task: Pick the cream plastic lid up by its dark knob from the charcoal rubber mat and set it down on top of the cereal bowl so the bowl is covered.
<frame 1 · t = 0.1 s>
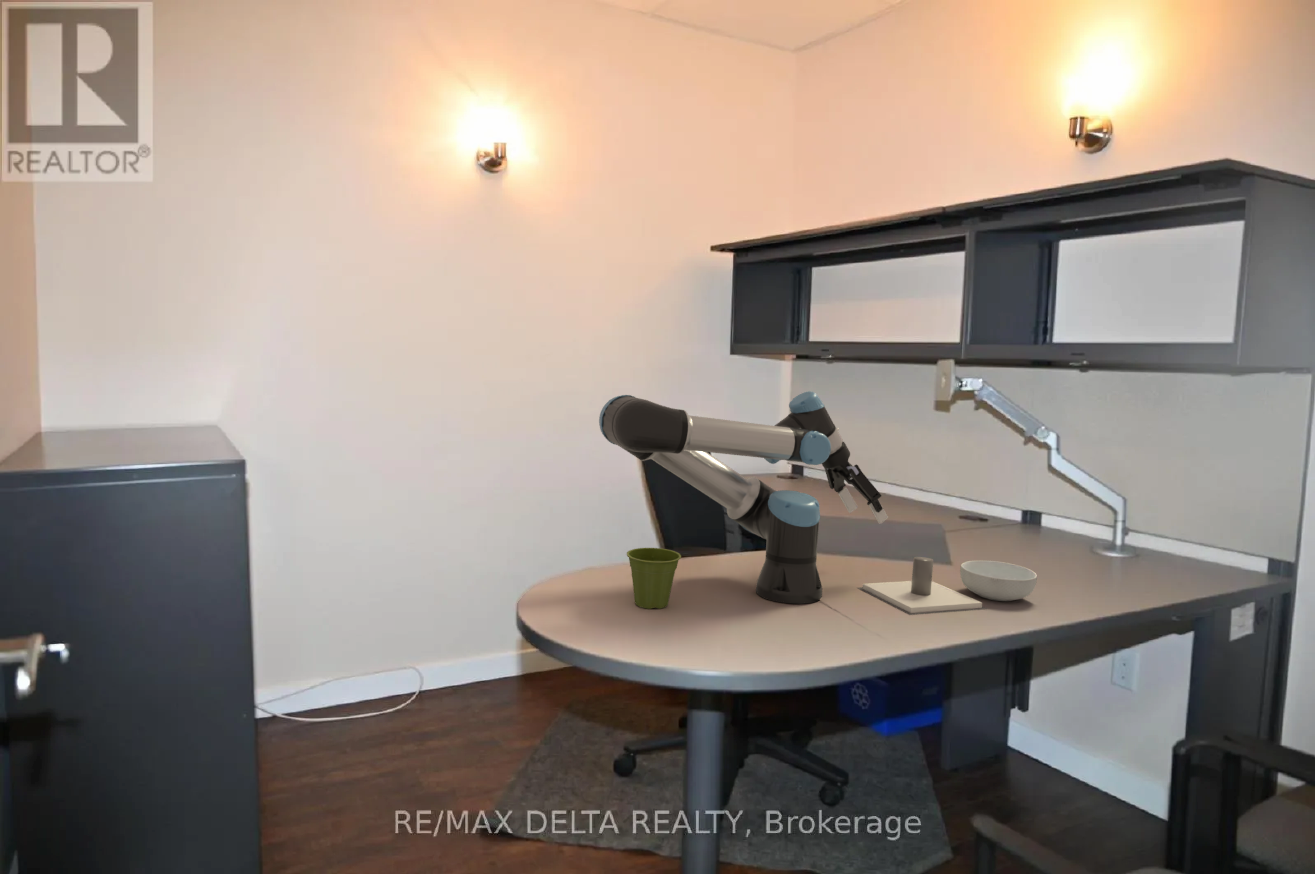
hand: (868, 515, 220), 15 cm above the table, fingers open, 13 cm apart
cereal bowl: (995, 598, 205), on the table
plant pot: (651, 605, 187), on the table
lid: (920, 597, 200), resting on mat
mat: (920, 599, 200), on the table
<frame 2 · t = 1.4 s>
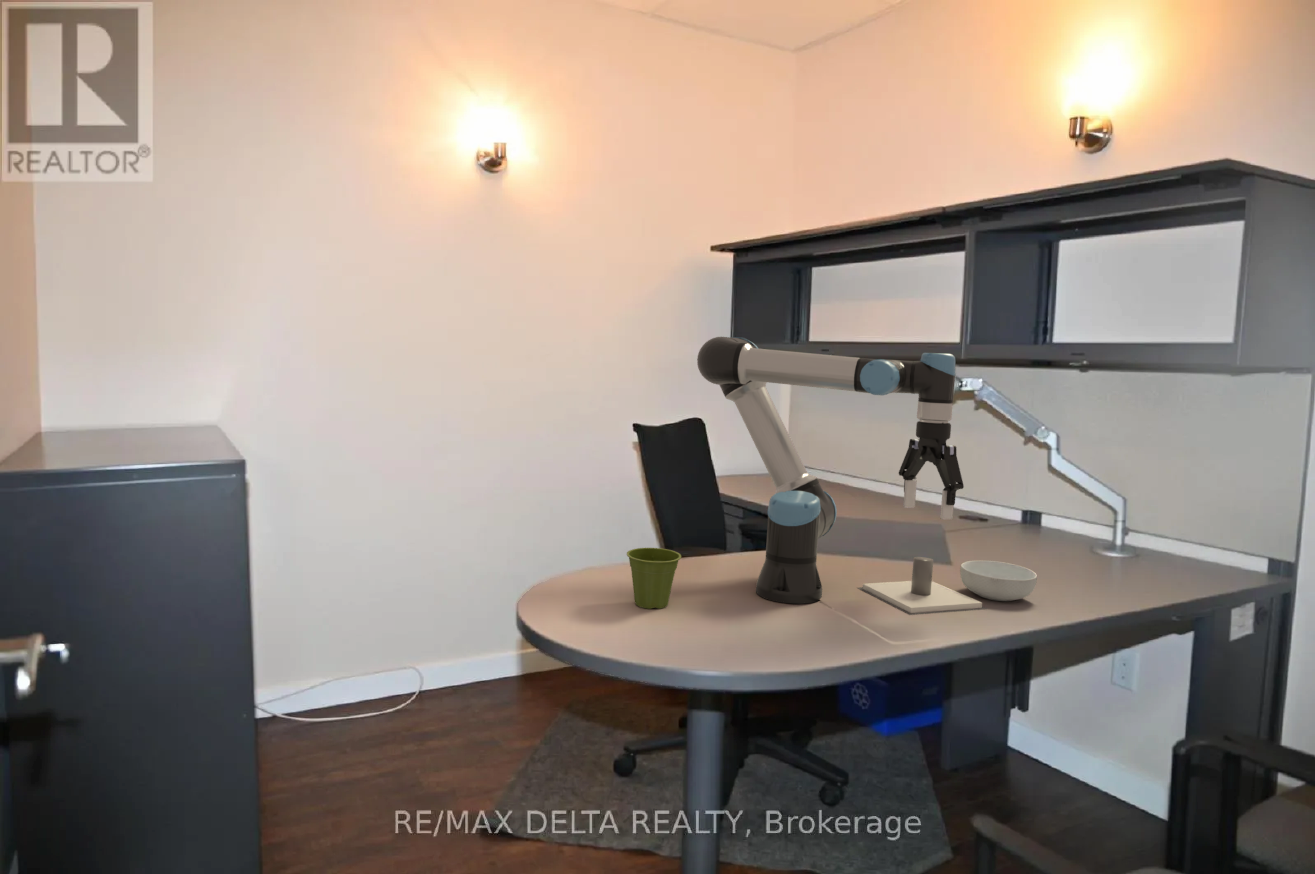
hand: (927, 513, 198), 20 cm above the table, fingers open, 13 cm apart
nothing on the table moved.
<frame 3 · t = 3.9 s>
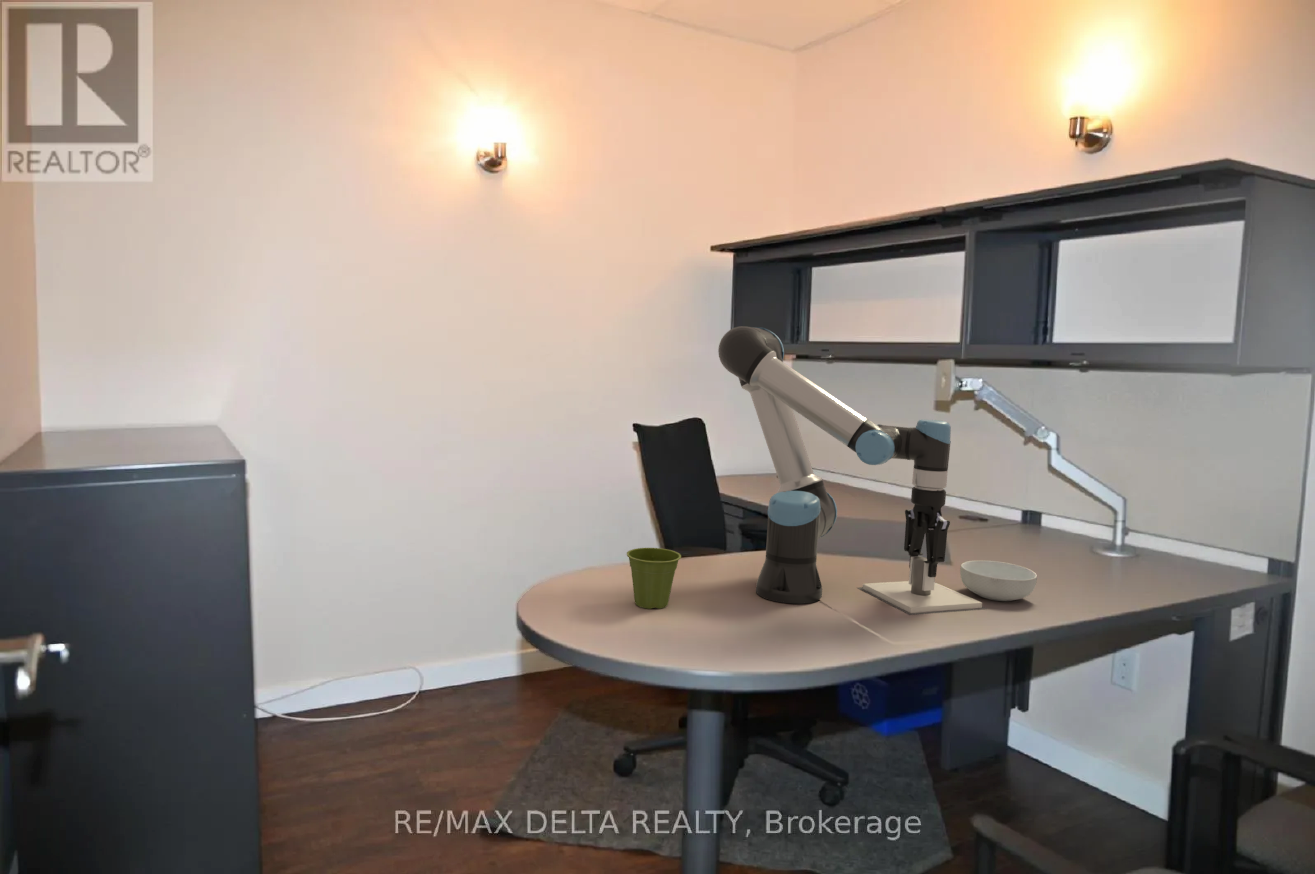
hand: (921, 586, 199), 3 cm above the table, fingers closed on lid, 4 cm apart
lid: (920, 597, 200), resting on mat, touching gripper
everything else where it was.
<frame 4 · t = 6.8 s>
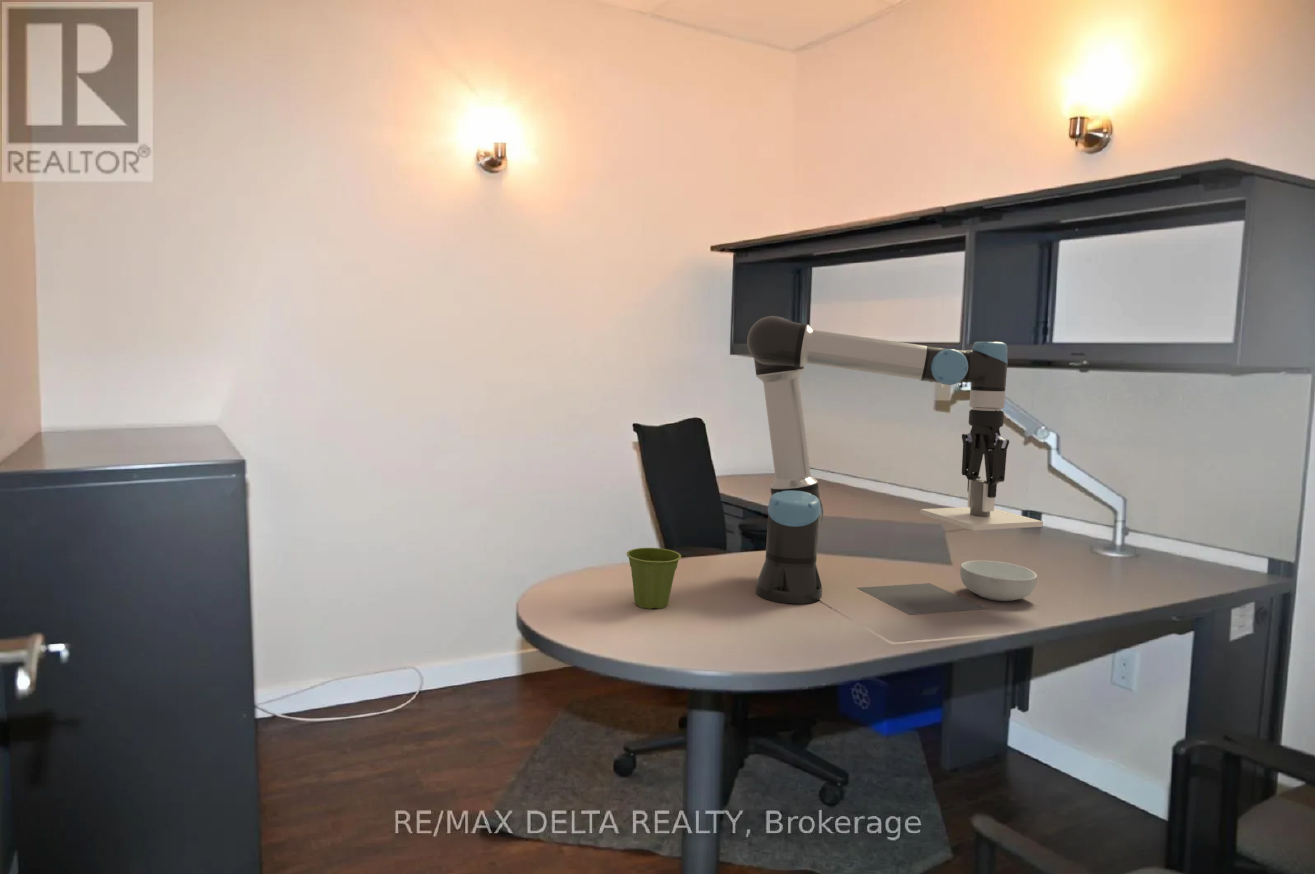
hand: (980, 508, 200), 22 cm above the table, fingers closed on lid, 4 cm apart
lid: (979, 520, 201), point 19 cm above the table, touching gripper
everything else where it was.
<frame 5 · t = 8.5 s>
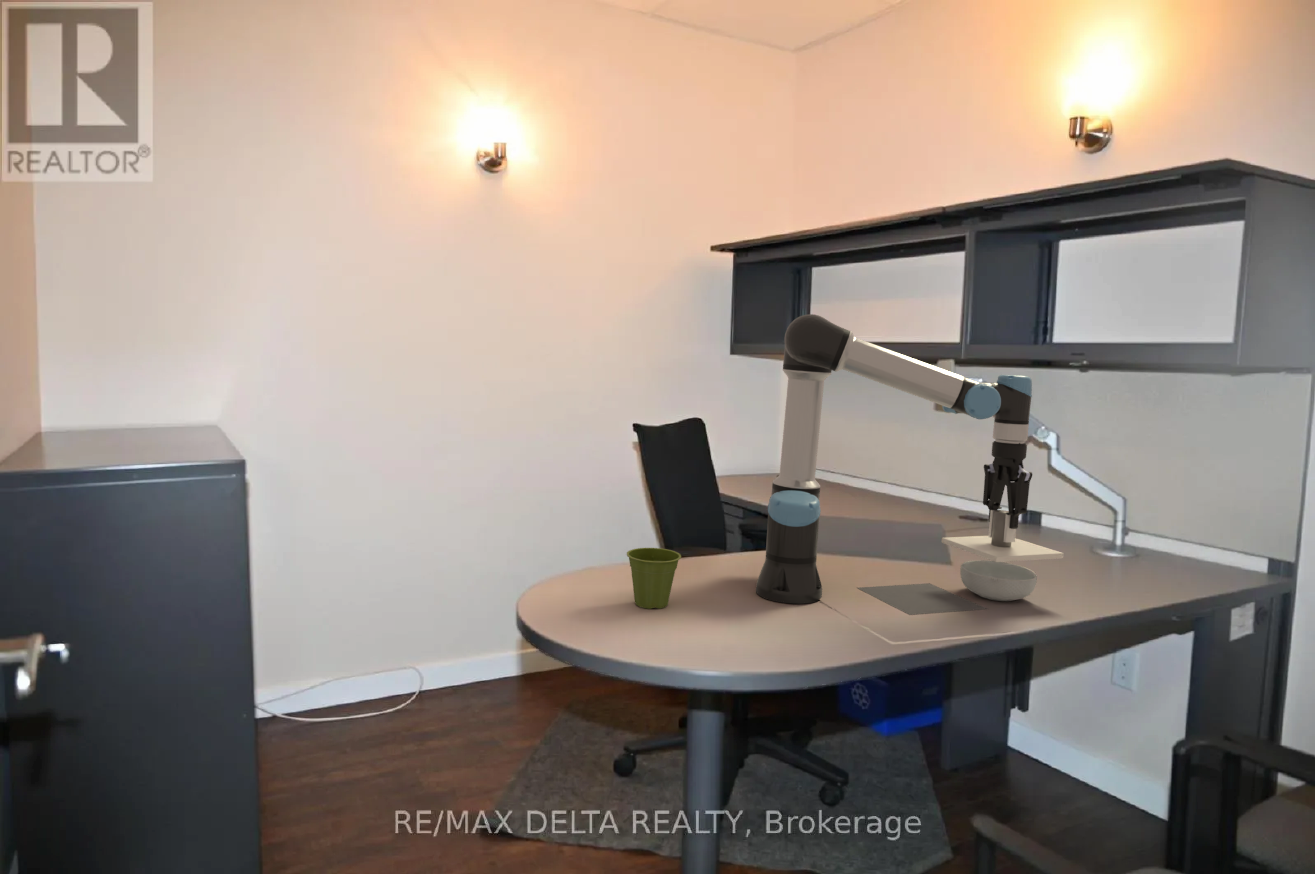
hand: (1001, 539, 203), 14 cm above the table, fingers closed on lid, 4 cm apart
lid: (1000, 550, 203), point 12 cm above the table, touching gripper
everything else where it was.
when the fingers open (11 cm above the table, at t = 9.7 s): lid drops 2 cm, resting on cereal bowl.
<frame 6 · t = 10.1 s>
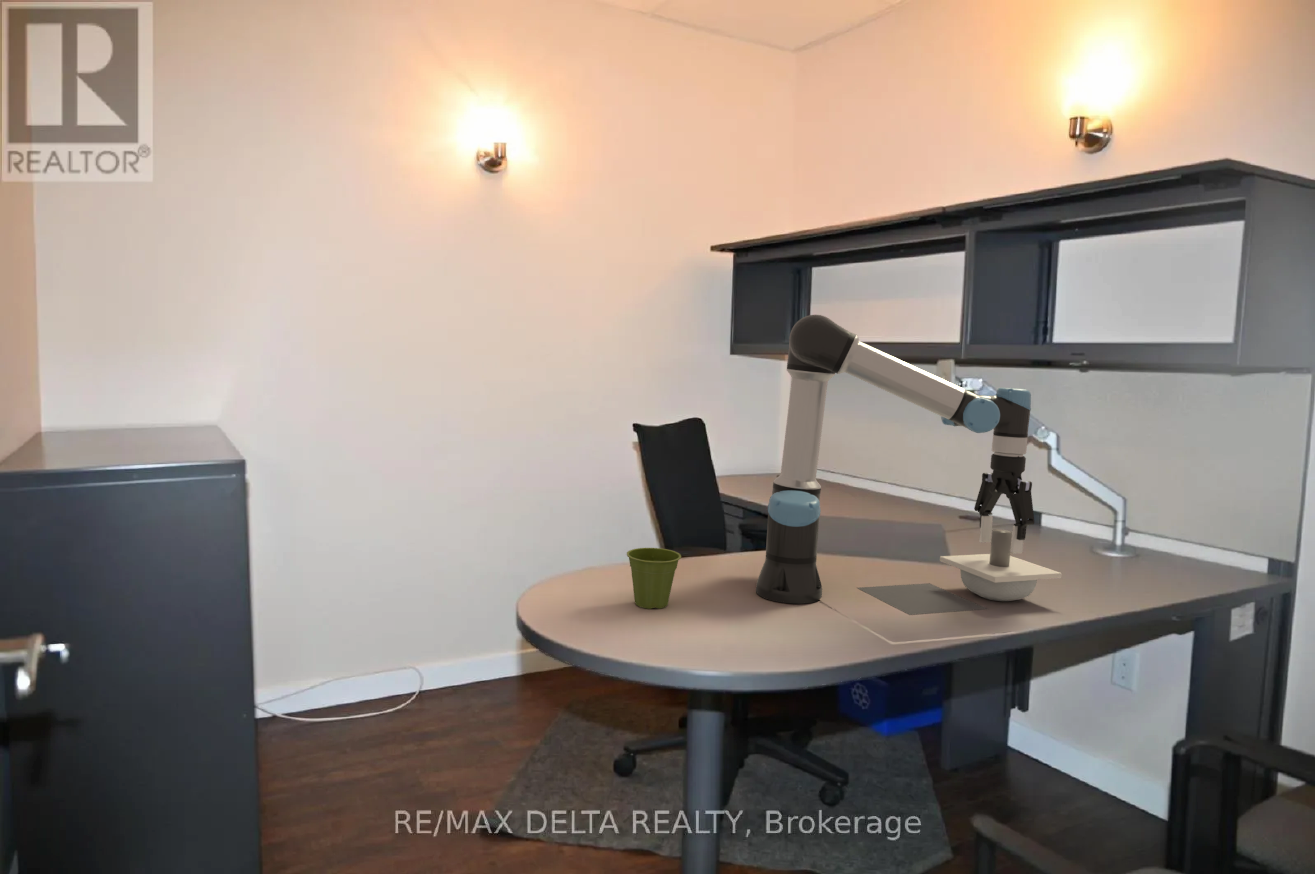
hand: (1000, 547, 203), 12 cm above the table, fingers open, 10 cm apart
cereal bowl: (995, 598, 205), on the table, touching lid
lid: (998, 569, 204), point 7 cm above the table, touching cereal bowl
everything else where it was.
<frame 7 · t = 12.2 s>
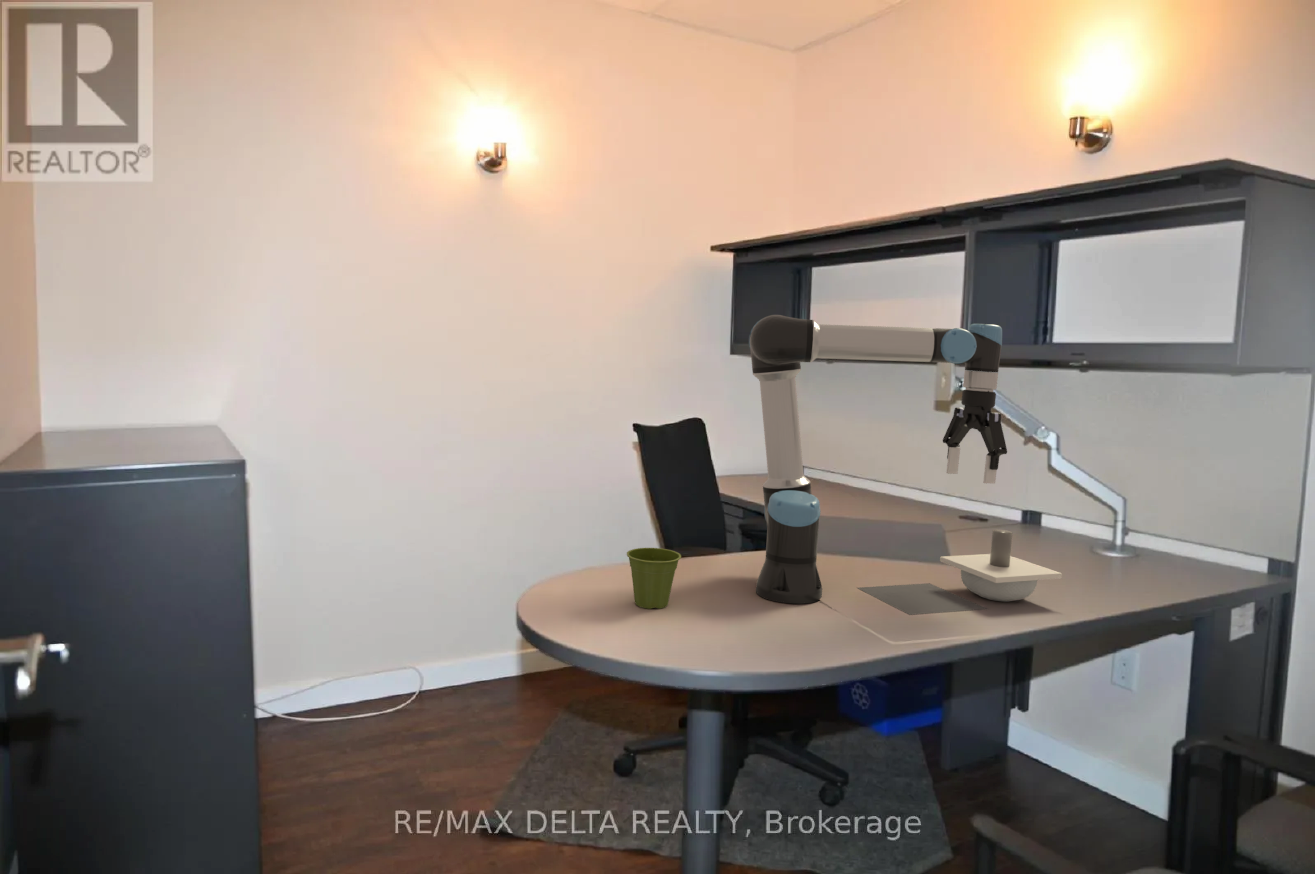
hand: (969, 478, 206), 28 cm above the table, fingers open, 13 cm apart
nothing on the table moved.
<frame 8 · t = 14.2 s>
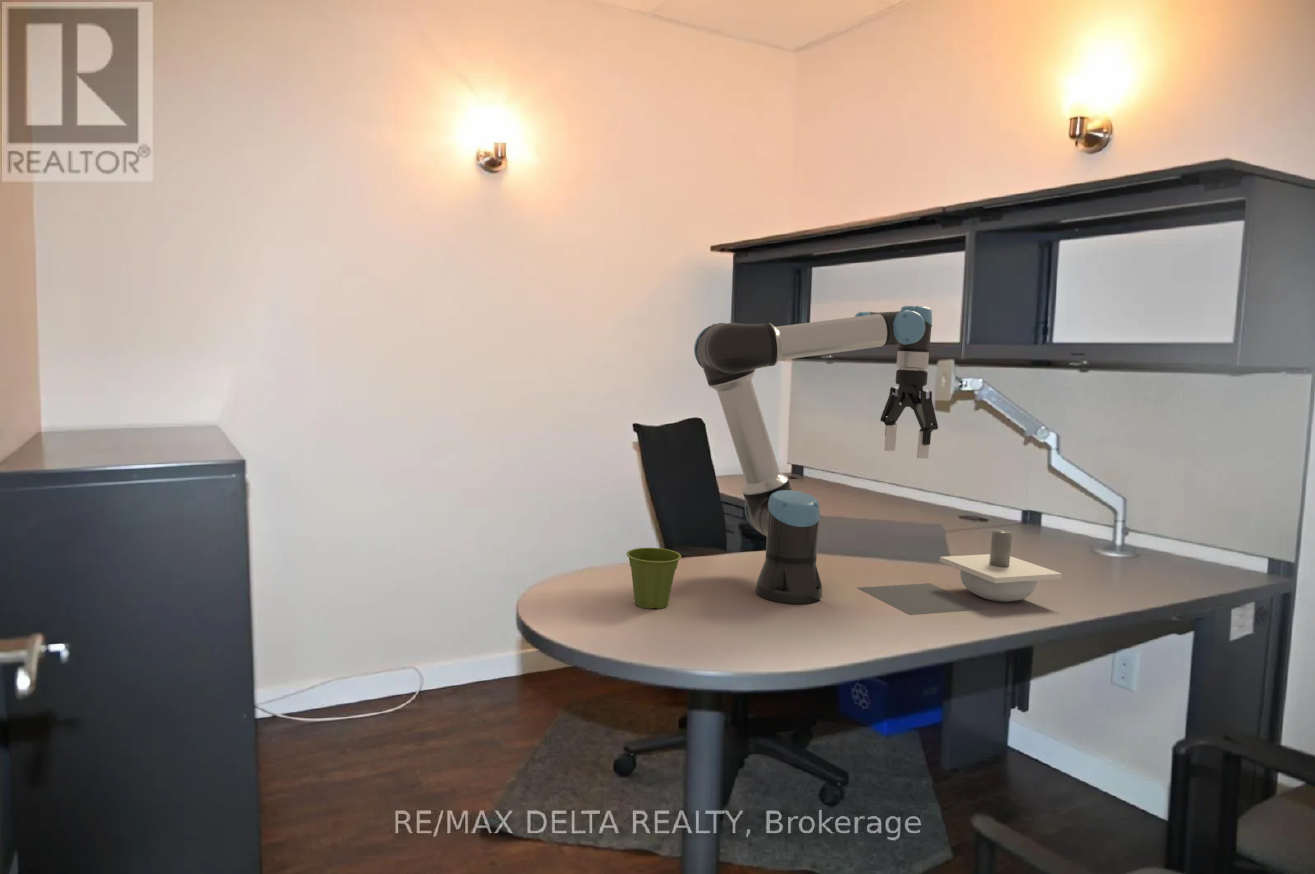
hand: (905, 454, 215), 32 cm above the table, fingers open, 13 cm apart
nothing on the table moved.
at the end: lid 0.2 cm off-centre on the cereal bowl, point 7.3 cm above the cereal bowl's base; lid tilted 0°; the gripper is holding nothing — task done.
